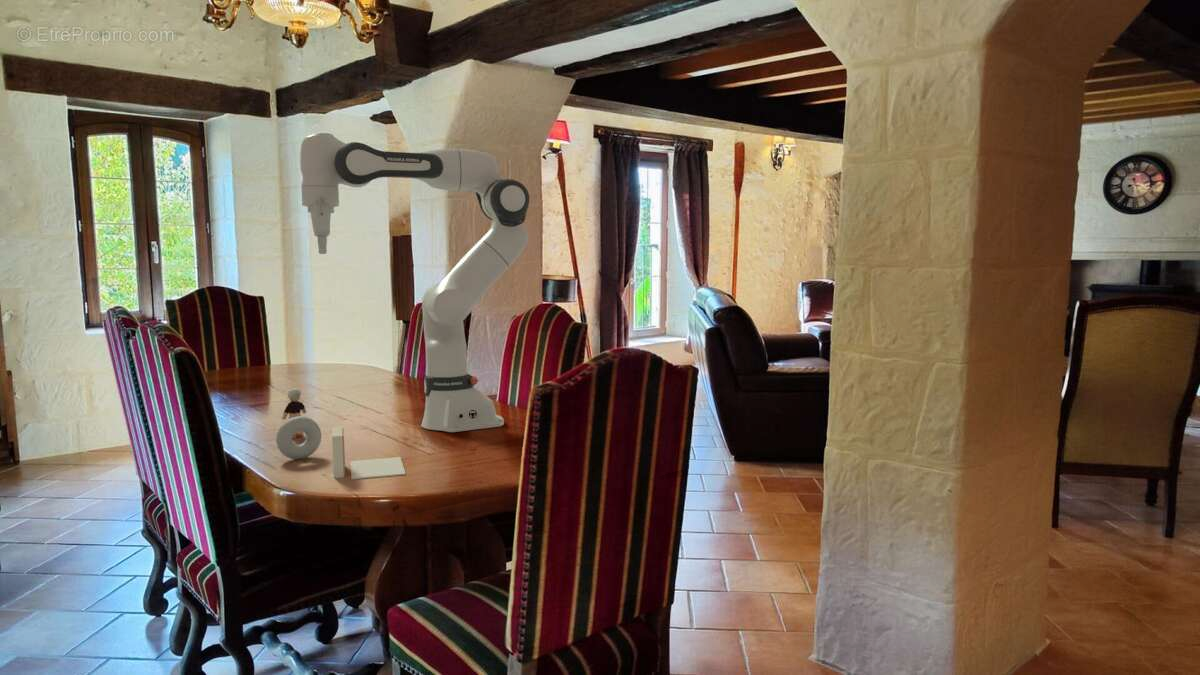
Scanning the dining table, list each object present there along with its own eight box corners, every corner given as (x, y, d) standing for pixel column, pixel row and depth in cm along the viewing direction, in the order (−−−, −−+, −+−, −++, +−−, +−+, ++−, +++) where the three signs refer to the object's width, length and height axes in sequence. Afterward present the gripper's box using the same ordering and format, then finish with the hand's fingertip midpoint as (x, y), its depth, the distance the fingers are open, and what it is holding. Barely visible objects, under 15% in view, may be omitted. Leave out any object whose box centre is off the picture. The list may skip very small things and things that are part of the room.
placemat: (400, 458, 174) (400, 456, 174) (405, 474, 161) (405, 473, 161) (350, 462, 171) (350, 461, 171) (351, 479, 158) (351, 478, 158)
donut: (319, 453, 178) (317, 412, 177) (324, 456, 176) (322, 414, 174) (275, 461, 172) (273, 418, 171) (279, 464, 169) (277, 420, 168)
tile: (345, 466, 168) (343, 426, 167) (345, 477, 160) (343, 435, 159) (334, 467, 167) (332, 427, 166) (333, 478, 159) (332, 436, 158)
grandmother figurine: (294, 440, 192) (292, 391, 190) (280, 439, 192) (278, 390, 191) (311, 433, 199) (309, 385, 198) (298, 432, 200) (296, 385, 198)
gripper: (334, 196, 182) (336, 253, 184) (332, 202, 201) (334, 254, 203) (306, 195, 180) (309, 253, 181) (307, 201, 199) (309, 254, 201)
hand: (322, 253), depth 192 cm, fingers open, 8 cm apart
